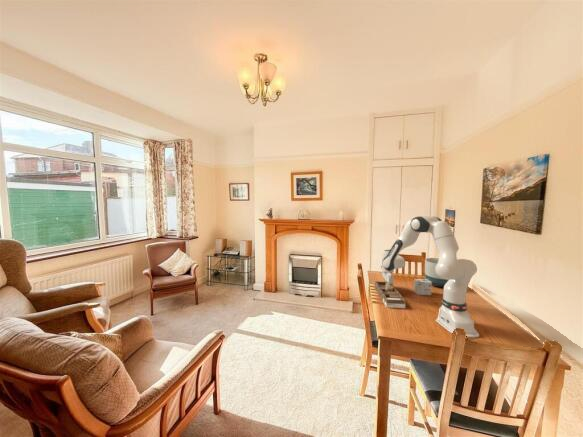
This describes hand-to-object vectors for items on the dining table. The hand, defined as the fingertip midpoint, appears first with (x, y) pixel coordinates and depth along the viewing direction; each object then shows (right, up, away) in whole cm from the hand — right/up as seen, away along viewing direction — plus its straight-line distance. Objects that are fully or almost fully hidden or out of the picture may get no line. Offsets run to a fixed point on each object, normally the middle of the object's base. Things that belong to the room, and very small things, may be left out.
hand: (387, 285), depth 191 cm
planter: (+47, -3, +10) cm, 49 cm away
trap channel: (-4, -5, -12) cm, 14 cm away
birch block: (-1, -2, -6) cm, 6 cm away
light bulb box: (+25, -5, -6) cm, 26 cm away
